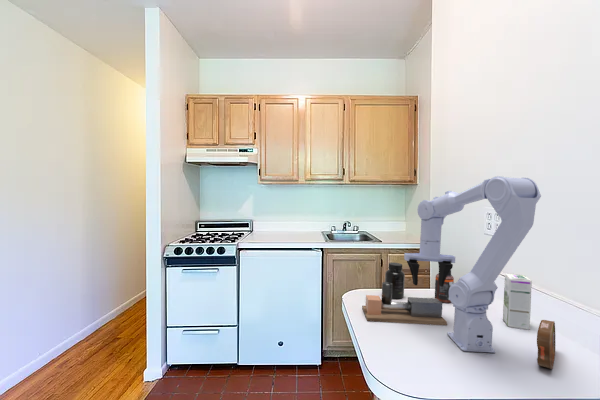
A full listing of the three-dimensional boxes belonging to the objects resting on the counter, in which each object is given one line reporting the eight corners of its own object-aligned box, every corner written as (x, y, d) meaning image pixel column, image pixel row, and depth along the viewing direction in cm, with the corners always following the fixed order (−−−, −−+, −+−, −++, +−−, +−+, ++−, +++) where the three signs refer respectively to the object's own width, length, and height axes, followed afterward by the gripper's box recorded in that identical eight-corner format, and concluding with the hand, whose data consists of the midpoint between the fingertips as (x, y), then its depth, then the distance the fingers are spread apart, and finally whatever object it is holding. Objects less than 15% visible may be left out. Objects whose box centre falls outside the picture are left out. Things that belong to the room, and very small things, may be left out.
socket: (380, 314, 98) (381, 300, 98) (367, 314, 98) (368, 299, 98) (378, 309, 103) (378, 295, 102) (365, 308, 103) (365, 295, 103)
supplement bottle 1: (380, 294, 121) (381, 262, 120) (394, 292, 124) (396, 261, 123) (393, 300, 114) (394, 266, 114) (407, 298, 117) (409, 265, 117)
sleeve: (441, 318, 97) (442, 303, 97) (411, 316, 98) (411, 302, 98) (436, 312, 102) (436, 298, 102) (407, 310, 102) (407, 297, 102)
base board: (446, 325, 95) (447, 321, 95) (367, 321, 96) (367, 317, 96) (434, 312, 105) (434, 309, 105) (362, 308, 106) (362, 305, 106)
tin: (551, 375, 70) (553, 337, 70) (533, 370, 72) (535, 332, 72) (556, 351, 82) (558, 317, 81) (540, 346, 84) (542, 314, 83)
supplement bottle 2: (455, 303, 113) (457, 271, 113) (438, 303, 113) (440, 271, 113) (448, 298, 119) (449, 267, 119) (431, 297, 119) (433, 266, 119)
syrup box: (530, 330, 93) (533, 280, 93) (506, 326, 95) (509, 277, 95) (523, 322, 99) (526, 275, 98) (501, 319, 100) (504, 273, 100)
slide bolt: (417, 312, 98) (418, 286, 98) (373, 310, 99) (375, 284, 99) (414, 308, 101) (415, 283, 101) (372, 306, 102) (373, 281, 102)
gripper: (449, 239, 102) (447, 282, 102) (402, 237, 102) (400, 279, 103) (459, 243, 95) (456, 289, 95) (408, 241, 95) (406, 286, 96)
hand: (427, 285), depth 99 cm, fingers open, 7 cm apart
